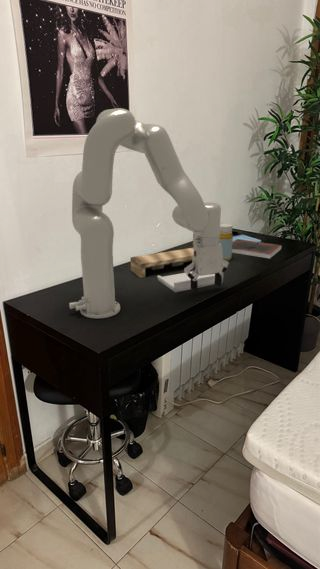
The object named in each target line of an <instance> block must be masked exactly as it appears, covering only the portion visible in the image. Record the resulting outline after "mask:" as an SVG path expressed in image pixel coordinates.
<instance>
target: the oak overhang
mask: <svg viewBox="0 0 320 569" xmlns="http://www.w3.org/2000/svg"><path fill="white" fill-rule="evenodd" d="M193 252H194V248H193V247H190V248H183V249H177V250H169V251H161V252H157V253H151V254H150V253H149V254H143V255H138V256H131V257H130V271H131V272H132V273H133V274H135V275H136V276H137V277H138V278H140V279H142V278H146V270H147V269H150V270H152V271H155V270H160V269H164V268H165V266H171V267H179V266H183V265H184V263H188V262H192V259H193Z"/></svg>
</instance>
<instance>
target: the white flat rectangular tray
mask: <svg viewBox="0 0 320 569" xmlns="http://www.w3.org/2000/svg"><path fill="white" fill-rule="evenodd" d="M192 272H193V271H190V273H192ZM215 274H216V273H214V274H209V275H203V276H200V275H199V277H198V278H197V279H196V280H197V281H198V285H197V289H199V288H206V287H209V286H210V287H211V286H215ZM194 276H195V275H194ZM156 279H157V281H158V282H160V283H161V284H163V286H165V287H167V288H168V289H169V290H171V291H172V292H174V293H179V292H185V291H189V290H192V289H191V279H190V278H189V277H188V276H187V275H186V273H185V272H183V273H177V274H171V275H170V274H169V275H165V276H161V275H159V274H158V275H157V278H156ZM223 283H224V275H223V276H222V283H221V284H223Z"/></svg>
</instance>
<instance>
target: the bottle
mask: <svg viewBox="0 0 320 569" xmlns="http://www.w3.org/2000/svg"><path fill="white" fill-rule="evenodd" d="M233 237H234V236H233V224H231V223H224V222H223V223H220V238H219V243H220V244H221V246H222V252H223V260H225V261H227V262H229V261H230V260H231V259H232V256H233V255H232V254H233V253H232V241H233Z"/></svg>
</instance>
